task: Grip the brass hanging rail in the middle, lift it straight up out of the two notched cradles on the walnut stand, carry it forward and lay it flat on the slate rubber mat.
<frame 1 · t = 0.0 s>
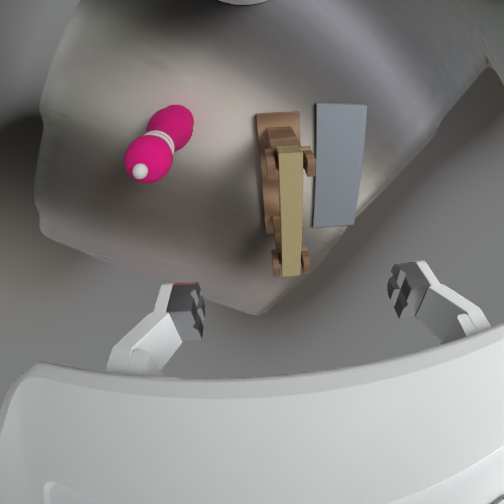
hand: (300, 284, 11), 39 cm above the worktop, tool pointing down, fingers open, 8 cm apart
slate mat: (338, 169, 49), on the worktop
pepper mill: (176, 121, 42), on the worktop
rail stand: (280, 176, 50), on the worktop
brass rail: (289, 214, 41), point 12 cm above the worktop, touching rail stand
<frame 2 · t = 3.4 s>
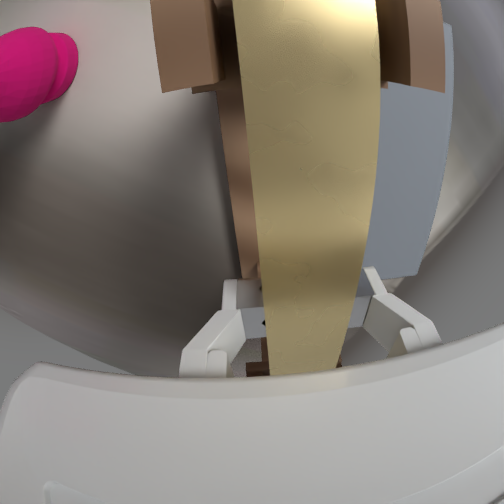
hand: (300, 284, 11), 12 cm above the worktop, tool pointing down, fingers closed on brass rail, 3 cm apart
slate mat: (401, 158, 20), on the worktop
pepper mill: (51, 66, 14), on the worktop
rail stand: (274, 172, 21), on the worktop
brass rail: (299, 278, 11), point 12 cm above the worktop, touching gripper, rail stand
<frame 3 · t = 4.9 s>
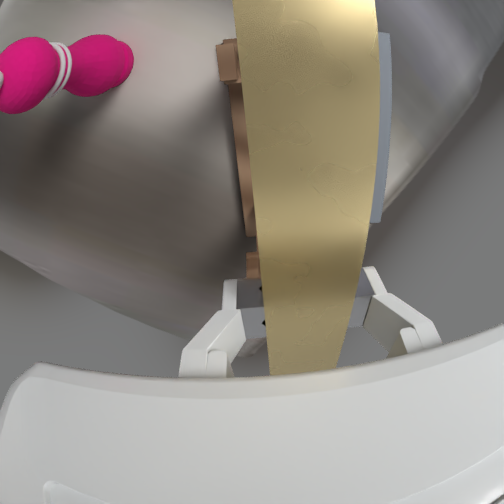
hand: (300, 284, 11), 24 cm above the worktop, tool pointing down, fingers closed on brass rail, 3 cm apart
slate mat: (355, 129, 30), on the worktop
pepper mill: (111, 64, 24), on the worktop
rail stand: (265, 140, 31), on the worktop
brass rail: (298, 278, 11), point 24 cm above the worktop, touching gripper
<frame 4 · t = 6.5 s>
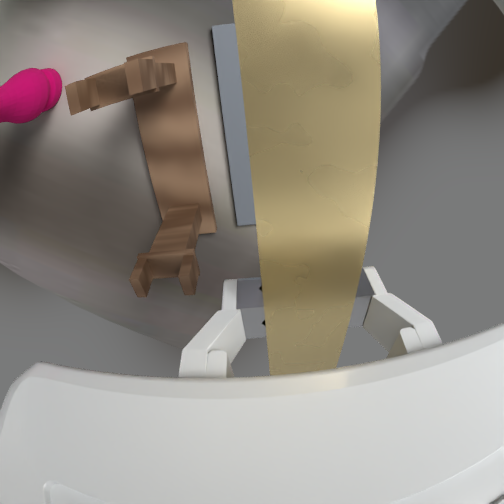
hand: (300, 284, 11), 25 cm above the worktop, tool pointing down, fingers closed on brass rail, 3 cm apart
slate mat: (263, 126, 30), on the worktop
pepper mill: (46, 89, 24), on the worktop
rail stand: (173, 145, 31), on the worktop
brass rail: (299, 279, 11), point 25 cm above the worktop, touching gripper
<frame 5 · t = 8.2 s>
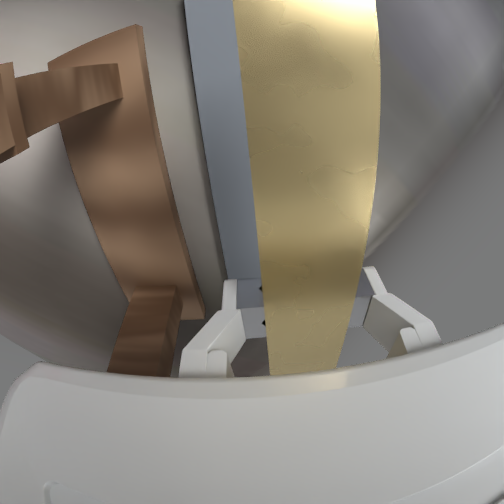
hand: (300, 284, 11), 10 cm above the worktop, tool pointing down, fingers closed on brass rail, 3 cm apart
slate mat: (276, 169, 18), on the worktop
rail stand: (130, 200, 20), on the worktop
brass rail: (299, 279, 11), point 10 cm above the worktop, touching gripper
when the fingers open (3 cm above the worktop, at t = 9.9 s): brass rail drops 2 cm, resting on slate mat.
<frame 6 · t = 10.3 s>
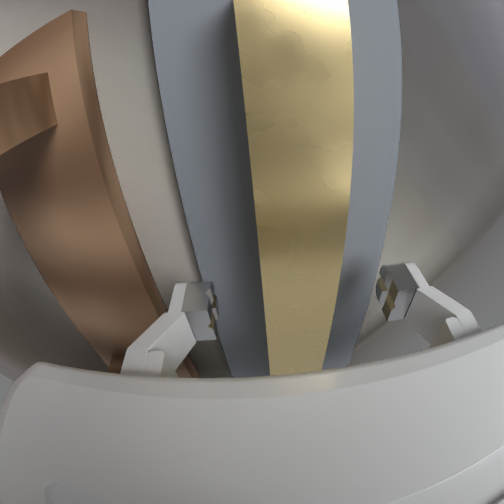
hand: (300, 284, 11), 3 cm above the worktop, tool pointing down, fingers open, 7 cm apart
slate mat: (291, 226, 13), on the worktop
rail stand: (91, 261, 14), on the worktop
brass rail: (293, 254, 13), point 1 cm above the worktop, touching slate mat
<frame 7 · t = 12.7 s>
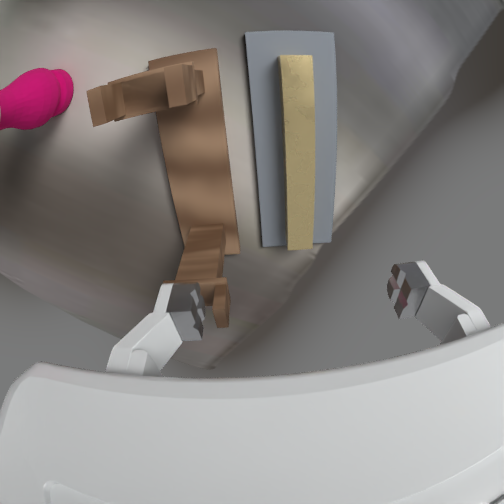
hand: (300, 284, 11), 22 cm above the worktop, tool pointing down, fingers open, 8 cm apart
slate mat: (295, 144, 29), on the worktop
pepper mill: (56, 92, 23), on the worktop
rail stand: (198, 160, 30), on the worktop
brass rail: (296, 154, 29), point 1 cm above the worktop, touching slate mat
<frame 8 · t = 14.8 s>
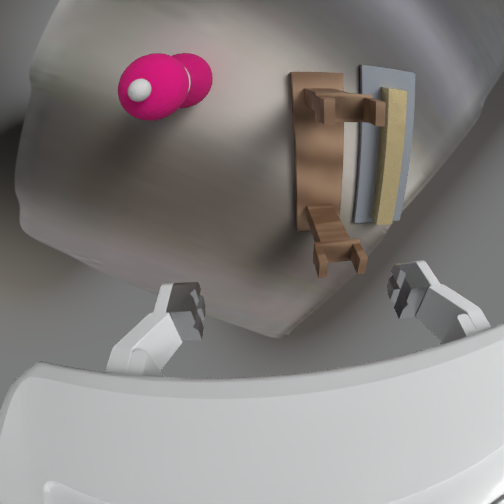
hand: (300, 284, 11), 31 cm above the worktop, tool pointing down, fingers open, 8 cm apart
slate mat: (385, 148, 37), on the worktop
pepper mill: (189, 79, 31), on the worktop
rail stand: (318, 154, 39), on the worktop
brass rail: (386, 156, 37), point 1 cm above the worktop, touching slate mat
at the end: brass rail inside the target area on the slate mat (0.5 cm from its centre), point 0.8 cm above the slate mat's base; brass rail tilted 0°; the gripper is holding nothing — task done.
